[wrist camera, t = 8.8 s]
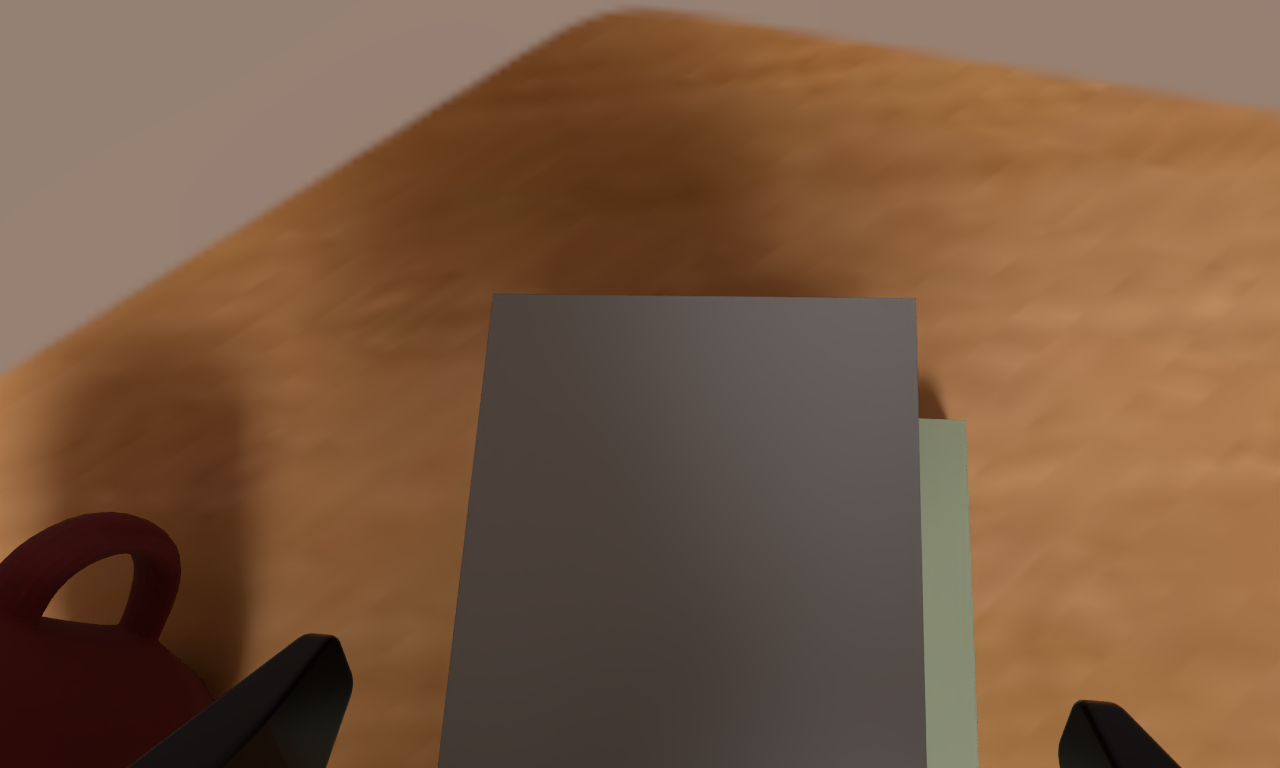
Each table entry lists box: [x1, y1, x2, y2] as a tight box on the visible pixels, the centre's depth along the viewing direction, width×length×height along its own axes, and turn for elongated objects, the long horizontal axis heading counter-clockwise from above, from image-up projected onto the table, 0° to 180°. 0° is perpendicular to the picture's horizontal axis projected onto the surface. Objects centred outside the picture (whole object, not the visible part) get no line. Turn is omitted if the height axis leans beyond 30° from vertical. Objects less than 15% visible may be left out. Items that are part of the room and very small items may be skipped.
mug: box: [0, 512, 213, 768], centre depth 19 cm, size 11×8×10 cm
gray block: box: [438, 294, 927, 768], centre depth 15 cm, size 6×6×12 cm
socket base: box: [918, 405, 979, 768], centre depth 20 cm, size 10×13×4 cm
